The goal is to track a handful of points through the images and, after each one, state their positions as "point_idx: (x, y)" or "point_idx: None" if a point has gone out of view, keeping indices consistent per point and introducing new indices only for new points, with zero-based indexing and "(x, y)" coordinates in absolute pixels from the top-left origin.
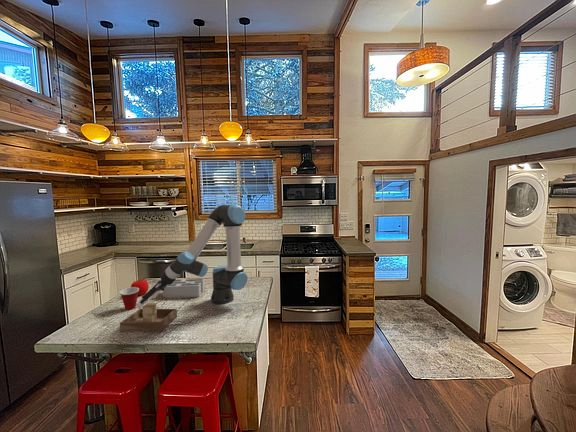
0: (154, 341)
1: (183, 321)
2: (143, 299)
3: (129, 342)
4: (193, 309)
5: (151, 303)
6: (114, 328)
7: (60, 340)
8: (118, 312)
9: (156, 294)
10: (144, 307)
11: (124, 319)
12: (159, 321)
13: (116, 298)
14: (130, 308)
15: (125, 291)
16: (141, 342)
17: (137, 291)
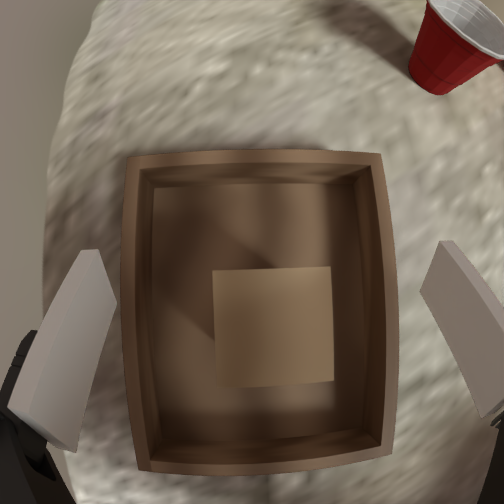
0: None
1: (305, 495)
2: (5, 406)
3: None
4: (456, 448)
5: (318, 329)
6: (193, 119)
7: (107, 18)
8: (376, 46)
9: (455, 336)
10: (214, 299)
11: (179, 153)
12: None
13: None
14: (419, 78)
15: (466, 6)
16: None
17: (494, 56)
